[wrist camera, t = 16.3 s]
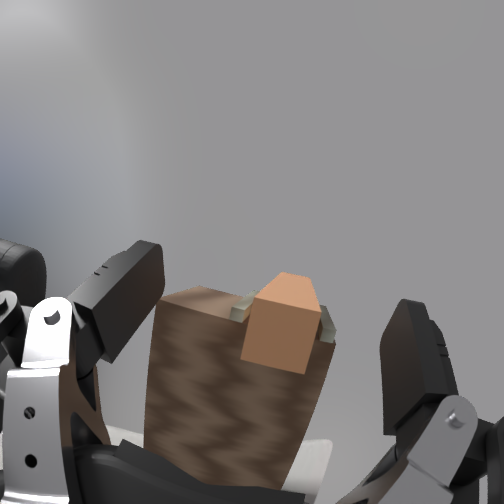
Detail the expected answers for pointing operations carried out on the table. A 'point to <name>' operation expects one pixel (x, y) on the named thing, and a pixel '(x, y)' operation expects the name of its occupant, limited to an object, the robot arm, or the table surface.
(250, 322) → the tan wooden block
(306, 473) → the table surface
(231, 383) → the stand
